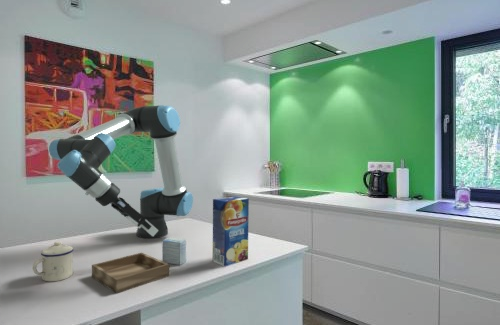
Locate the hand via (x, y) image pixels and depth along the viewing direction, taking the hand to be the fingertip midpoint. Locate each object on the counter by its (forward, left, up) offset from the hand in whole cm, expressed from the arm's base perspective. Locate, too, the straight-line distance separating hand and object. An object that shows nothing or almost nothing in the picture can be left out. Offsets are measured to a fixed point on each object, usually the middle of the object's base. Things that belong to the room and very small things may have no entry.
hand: (148, 229), depth 113 cm
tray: (+3, -8, -14) cm, 16 cm away
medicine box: (+2, +10, -14) cm, 17 cm away
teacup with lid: (-14, -26, -14) cm, 33 cm away
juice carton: (+15, +26, -14) cm, 34 cm away
